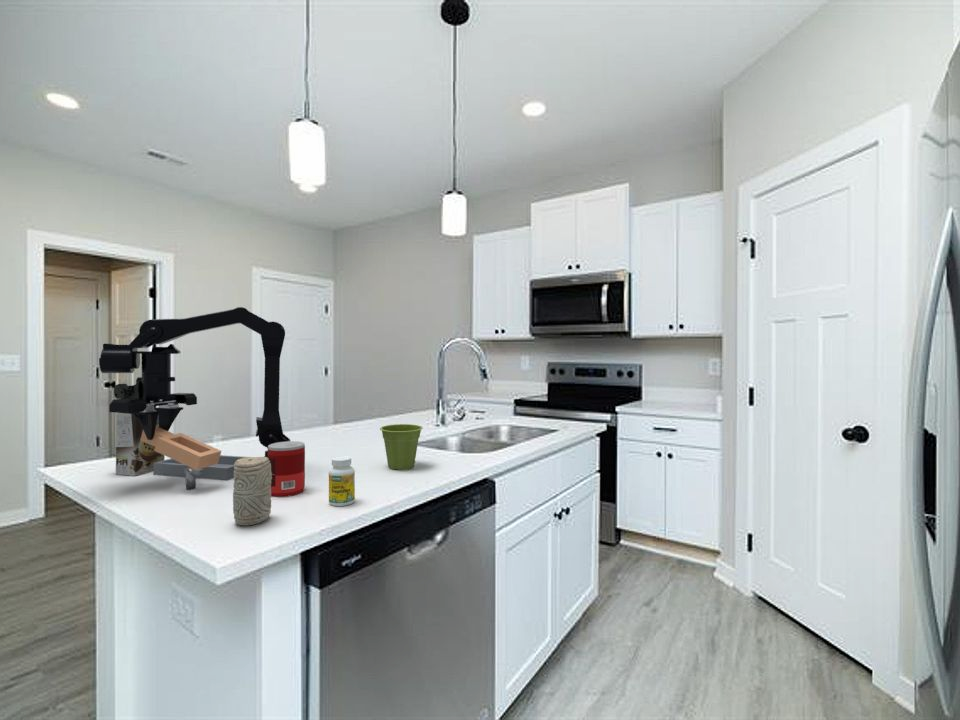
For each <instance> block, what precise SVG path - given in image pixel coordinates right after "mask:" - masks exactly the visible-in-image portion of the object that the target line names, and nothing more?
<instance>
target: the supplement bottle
mask: <svg viewBox="0 0 960 720" xmlns="http://www.w3.org/2000/svg"><path fill="white" fill-rule="evenodd" d="M331 465H332V467H331V468H330V469H329V470H328V503H329V505H330V506H333V507H344V506H350V505H352V504H353V503H355V501H356V499H355V498H356V497H355V494H356V492H355V491H356V489H355V483H356V481H355V479H356V478H355V472H356V470H355V468H354V467H353V466H351V465H352V457H351V456H346V455H345V456H336V457H333V458H331Z"/></svg>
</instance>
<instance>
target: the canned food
mask: <svg viewBox="0 0 960 720" xmlns="http://www.w3.org/2000/svg"><path fill="white" fill-rule="evenodd" d="M267 450H268V459H269V461H270V463H271V473H272V480H271V497H275V498H278V497H279V498H281V497H292V496H295V495H299V494H301V493H303V492H304V489H305V487H306V486H305V485H306V484H305V483H306V482H305V480H306V477H305V475H306V471H305V470H306V469H305V468H306V445H305V442H303V441H296V440H295V441H294V440H293V441H292V440H290V441H287V442H278V443H273V444H270V445H269V446H268V449H267Z"/></svg>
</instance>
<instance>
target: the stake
mask: <svg viewBox="0 0 960 720" xmlns="http://www.w3.org/2000/svg"><path fill="white" fill-rule="evenodd" d="M184 474H186V477H185V490H186V491H187V490H188V491H191V489H192V490H194V489H197V488H196V487H197V478H196V474H198V475H199V474H203V469H198V470H195V469H193V468H187V469H184Z"/></svg>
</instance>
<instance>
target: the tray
mask: <svg viewBox="0 0 960 720" xmlns="http://www.w3.org/2000/svg"><path fill="white" fill-rule="evenodd" d="M252 457H253V456H238V455H226V454H225V455H224V454H221V455H220V458H219V461H218V464H214V465H211V466H208V467H205V468H201V469H203V474H199V475H198V474H196V479H205V478H209V479H210V480H218V479H222V480H221V481H228V480H231V478H232V479H234V470H235V469H234V466H235V465H234V463H235V462H236V461H237V460H238V459H242V458H252ZM187 468H191V467H189V466H187V465H184V464H182V463H180V462H178V461H176V460H173V459H171V458H168V459H165V460H163V461H159V462H155V463H153V471H152V472H153V475H154V476H155V475H156V476H166V477H167V476H169V477H181V478H186V474H184V469H187ZM209 479H208V480H209Z"/></svg>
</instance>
